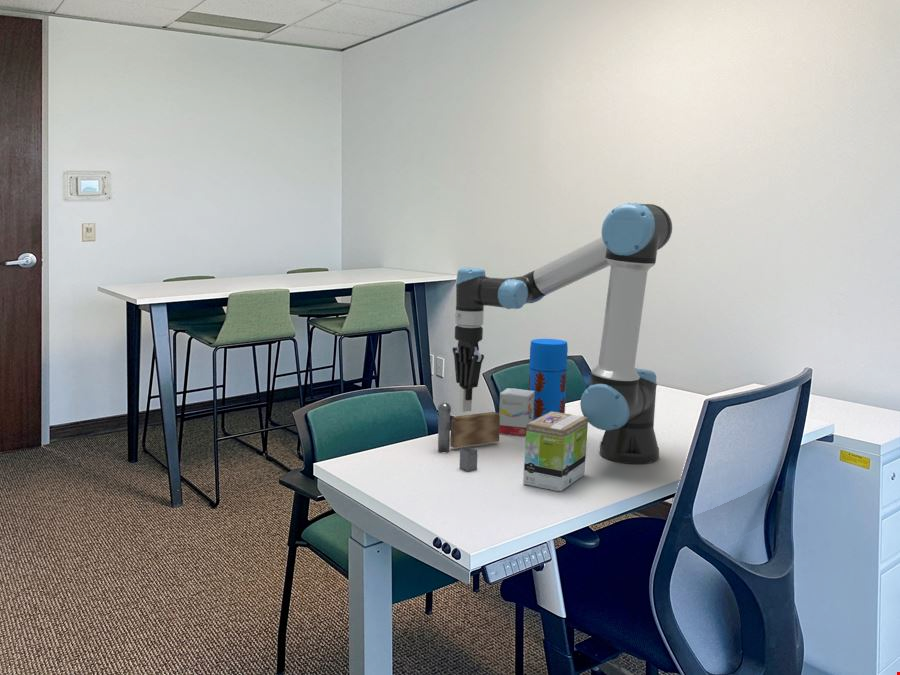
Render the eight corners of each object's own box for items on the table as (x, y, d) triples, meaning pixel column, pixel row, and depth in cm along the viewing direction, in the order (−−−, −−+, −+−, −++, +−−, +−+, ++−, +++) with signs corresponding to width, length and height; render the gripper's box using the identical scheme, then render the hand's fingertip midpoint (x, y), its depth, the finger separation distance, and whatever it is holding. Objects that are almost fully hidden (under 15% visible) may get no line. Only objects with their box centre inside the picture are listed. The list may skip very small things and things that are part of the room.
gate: (454, 448, 213) (454, 419, 212) (450, 445, 215) (450, 417, 213) (499, 441, 220) (500, 413, 218) (494, 439, 222) (495, 411, 220)
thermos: (554, 431, 233) (557, 345, 230) (521, 425, 239) (524, 341, 235) (570, 424, 242) (573, 341, 239) (537, 418, 248) (541, 337, 244)
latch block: (476, 469, 198) (477, 449, 198) (467, 471, 196) (468, 451, 196) (468, 466, 201) (469, 446, 200) (459, 468, 199) (460, 448, 198)
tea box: (562, 493, 183) (565, 429, 181) (522, 485, 188) (524, 422, 186) (586, 475, 196) (588, 415, 194) (547, 467, 201) (549, 409, 199)
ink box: (527, 437, 228) (528, 395, 226) (497, 433, 231) (498, 392, 229) (533, 429, 236) (535, 389, 234) (505, 426, 239) (506, 386, 237)
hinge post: (452, 451, 212) (453, 403, 210) (442, 453, 210) (443, 405, 208) (444, 448, 215) (445, 400, 213) (434, 450, 213) (435, 402, 211)
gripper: (445, 322, 223) (442, 406, 227) (469, 329, 212) (465, 417, 216) (468, 321, 227) (465, 404, 230) (493, 328, 215) (489, 415, 219)
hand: (465, 410), depth 223 cm, fingers closed
